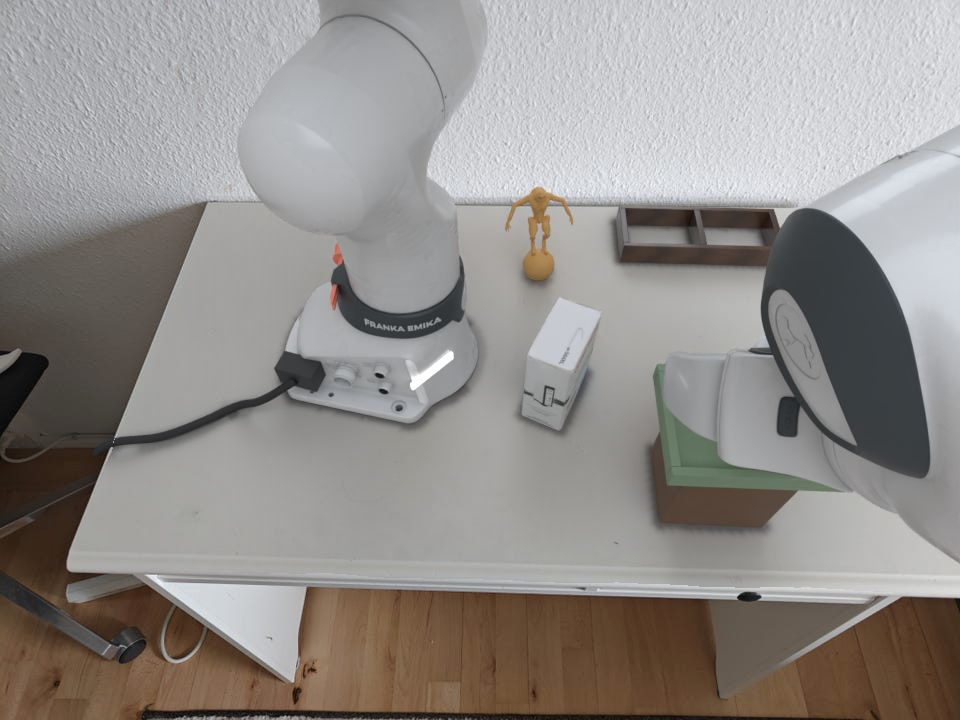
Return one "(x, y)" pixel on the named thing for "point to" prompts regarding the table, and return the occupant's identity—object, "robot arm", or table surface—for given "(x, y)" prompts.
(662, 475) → the tray
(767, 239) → the wooden divided box
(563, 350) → the ink box
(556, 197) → the figurine
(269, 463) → the table surface
